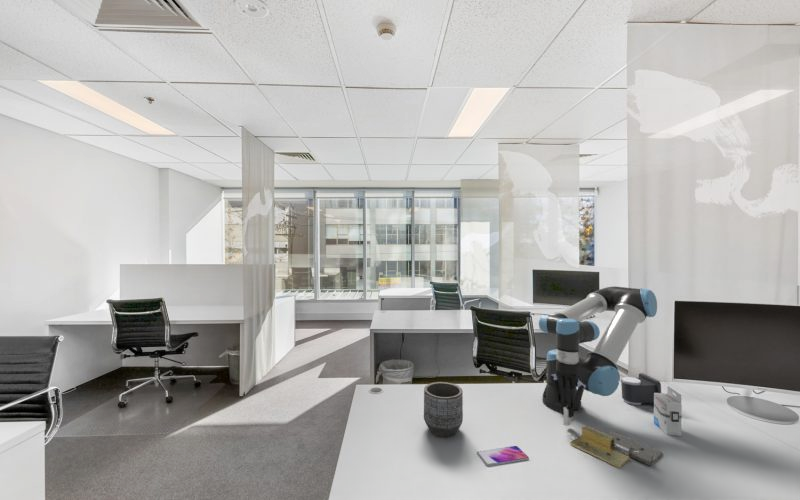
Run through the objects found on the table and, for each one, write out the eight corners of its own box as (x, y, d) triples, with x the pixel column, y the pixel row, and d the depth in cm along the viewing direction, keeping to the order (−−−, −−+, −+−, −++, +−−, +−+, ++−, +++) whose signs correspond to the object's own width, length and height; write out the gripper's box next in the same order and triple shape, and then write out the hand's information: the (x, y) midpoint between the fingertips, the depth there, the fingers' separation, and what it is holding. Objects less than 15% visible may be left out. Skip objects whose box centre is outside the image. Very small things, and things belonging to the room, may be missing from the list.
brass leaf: (570, 444, 111) (569, 435, 111) (586, 433, 117) (586, 425, 117) (619, 468, 98) (619, 458, 98) (634, 455, 105) (634, 445, 105)
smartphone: (475, 451, 106) (516, 445, 110) (475, 454, 106) (516, 447, 110) (486, 465, 99) (529, 457, 103) (486, 468, 99) (529, 460, 103)
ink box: (653, 422, 125) (653, 384, 125) (667, 424, 124) (667, 385, 124) (666, 434, 117) (666, 393, 117) (682, 436, 116) (682, 394, 116)
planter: (466, 424, 123) (466, 385, 123) (456, 445, 110) (457, 401, 110) (431, 416, 129) (431, 379, 129) (418, 435, 116) (418, 393, 116)
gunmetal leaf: (596, 443, 111) (596, 434, 111) (611, 433, 118) (611, 424, 118) (649, 467, 99) (649, 457, 99) (662, 454, 105) (662, 444, 105)
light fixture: (615, 398, 148) (614, 374, 148) (644, 396, 148) (642, 372, 148) (633, 409, 137) (632, 383, 137) (664, 407, 137) (662, 381, 137)
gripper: (545, 358, 124) (545, 419, 124) (580, 368, 114) (580, 435, 114) (556, 354, 129) (556, 414, 129) (590, 364, 118) (590, 429, 118)
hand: (567, 424), depth 121 cm, fingers closed
